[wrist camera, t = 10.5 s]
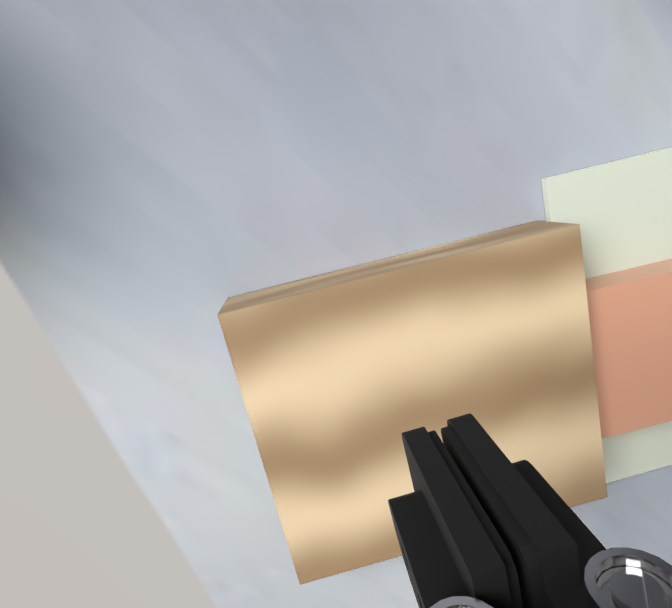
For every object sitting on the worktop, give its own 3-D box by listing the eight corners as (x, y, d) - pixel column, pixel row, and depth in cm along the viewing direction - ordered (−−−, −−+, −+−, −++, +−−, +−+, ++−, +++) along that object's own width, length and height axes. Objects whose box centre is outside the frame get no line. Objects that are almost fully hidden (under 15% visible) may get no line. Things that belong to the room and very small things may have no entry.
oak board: (227, 297, 22) (217, 314, 19) (536, 220, 23) (579, 224, 20) (298, 534, 26) (300, 584, 22) (566, 459, 27) (607, 496, 23)
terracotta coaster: (552, 286, 24) (577, 294, 22) (696, 252, 24) (732, 257, 22) (566, 423, 26) (589, 441, 24) (699, 390, 26) (732, 405, 24)
